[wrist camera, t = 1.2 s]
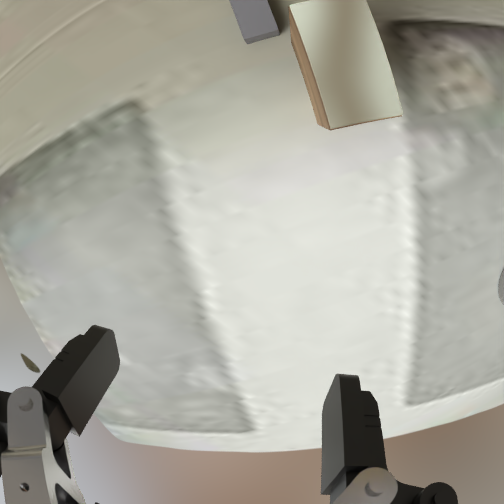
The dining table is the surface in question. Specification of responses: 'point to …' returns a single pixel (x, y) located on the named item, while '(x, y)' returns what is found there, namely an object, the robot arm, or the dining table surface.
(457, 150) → the dining table surface
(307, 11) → the walnut slab
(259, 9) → the rail
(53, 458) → the robot arm
